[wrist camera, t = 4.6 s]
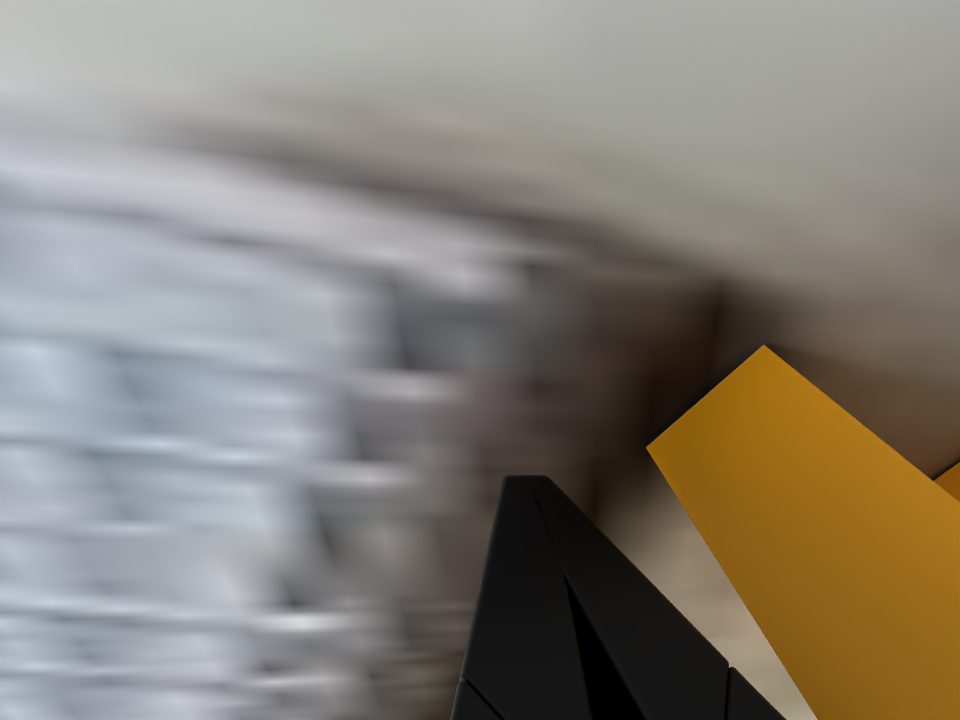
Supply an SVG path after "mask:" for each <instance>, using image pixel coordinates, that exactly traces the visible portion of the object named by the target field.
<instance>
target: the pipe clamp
mask: <svg viewBox="0 0 960 720" xmlns="http://www.w3.org/2000/svg"><path fill="white" fill-rule="evenodd" d="M646 449H647V450H648V452H649V453H650V455H651V456H652V458H653V460H654V461H655V463H656V464H657V466H658V467H659V469H660V471H661V472H662V474H663V475H664V477H665V479H666V480H667V482H668V483H669V485H670V486H671V488H672V490H673V491H674V493H675V494H676V496H677V498H678V499H679V501H680V502H681V504H682V505H683V507H684V509H685V510H686V512H687V513H688V515H689V517H690V518H691V520H692V521H693V523H694V524H695V526H696V528H697V529H698V531H699V532H700V534H701V536H702V537H703V539H704V540H705V542H706V543H707V545H708V547H709V548H710V550H711V551H712V553H713V555H714V556H715V558H716V559H717V561H718V562H719V564H720V566H721V567H722V569H723V570H724V572H725V574H726V575H727V577H728V578H729V580H730V581H731V583H732V585H733V586H734V588H735V589H736V591H737V593H738V594H739V596H740V597H741V599H742V600H743V602H744V604H745V605H746V607H747V608H748V610H749V612H750V613H751V615H752V616H753V618H754V619H755V621H756V623H757V624H758V626H759V627H760V629H761V631H762V632H763V634H764V635H765V637H766V638H767V640H768V642H769V643H770V645H771V646H772V648H773V650H774V651H775V653H776V654H777V656H778V657H779V659H780V661H781V662H782V664H783V665H784V667H785V669H786V670H787V672H788V673H789V675H790V676H791V678H792V680H793V681H794V683H795V684H796V686H797V688H798V689H799V691H800V692H801V694H802V695H803V697H804V699H805V700H806V702H807V703H808V705H809V707H810V708H811V710H812V711H813V713H814V714H815V716H816V718H817V719H818V720H960V462H959V463H958V464H956V465H955V466H953V467H952V468H951V469H949V470H948V471H947V472H945V473H944V474H942V475H941V476H940V477H938V478H937V479H935V480H934V481H932V480H931V479H930V478H929V477H927V476H926V475H925V474H924V473H922V472H921V471H920V470H919V469H917V468H916V467H915V466H914V465H913V464H911V463H910V462H909V461H908V460H906V459H905V458H904V457H903V456H901V455H900V454H899V453H898V452H896V451H895V450H894V449H893V448H891V447H890V446H889V445H888V444H886V443H885V442H884V441H883V440H881V439H880V438H879V437H878V436H877V435H875V434H874V433H873V432H872V431H870V430H869V429H868V428H867V427H865V426H864V425H863V424H862V423H860V422H859V421H858V420H857V419H855V418H854V417H853V416H852V415H850V414H849V413H848V412H847V411H846V410H844V409H843V408H842V407H841V406H839V405H838V404H837V403H836V402H834V401H833V400H832V399H831V398H829V397H828V396H827V395H826V394H824V393H823V392H822V391H821V390H819V389H818V388H817V387H816V386H815V385H813V384H812V383H811V382H810V381H808V380H807V379H806V378H805V377H803V376H802V375H801V374H800V373H798V372H797V371H796V370H795V369H793V368H792V367H791V366H790V365H788V364H787V363H786V362H785V361H784V360H782V359H781V358H780V357H779V356H777V355H776V354H775V353H774V352H772V351H771V350H770V349H769V348H767V347H766V346H765V345H763V346H761V347H760V348H759V349H758V350H757V351H756V352H755V353H753V354H752V355H751V356H750V357H749V358H748V359H747V360H745V361H744V362H743V363H742V364H741V365H740V366H739V367H737V368H736V369H735V370H734V371H733V372H732V373H731V374H729V375H728V376H727V377H726V378H725V379H724V380H723V381H721V382H720V383H719V384H718V385H717V386H716V387H715V388H713V389H712V390H711V391H710V392H709V393H708V394H706V395H705V396H704V397H703V398H702V399H701V400H700V401H698V402H697V403H696V404H695V405H694V406H693V407H692V408H690V409H689V410H688V411H687V412H686V413H685V414H684V415H682V416H681V417H680V418H679V419H678V420H677V421H676V422H674V423H673V424H672V425H671V426H670V427H669V428H668V429H666V430H665V431H664V432H663V433H662V434H661V435H660V436H658V437H657V438H656V439H655V440H654V441H653V442H652V443H650V444H649V445H648V446H647V447H646Z"/></svg>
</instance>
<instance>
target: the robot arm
mask: <svg viewBox="0 0 960 720" xmlns="http://www.w3.org/2000/svg"><path fill="white" fill-rule="evenodd" d="M450 720H786V719H785V718H784V717H783V716H782V715H781V714H780V713H779V712H778V711H777V710H776V709H775V708H774V707H773V706H772V705H771V704H770V703H769V702H768V701H767V700H766V699H765V698H764V697H763V696H762V695H761V694H760V693H759V692H758V691H757V690H756V689H755V688H754V687H753V686H752V685H751V684H750V683H749V682H748V681H747V680H746V679H745V678H744V677H743V676H742V675H741V674H740V673H739V672H738V671H737V670H736V669H735V668H734V667H730V668H729V663H728V661H727V660H726V659H725V658H724V657H723V656H722V655H721V654H720V652H719V651H718V650H717V649H716V648H715V647H714V646H713V645H712V644H711V643H710V642H709V641H708V640H707V639H706V638H705V637H704V636H703V635H702V634H701V633H700V632H699V631H698V630H697V629H696V628H695V627H694V626H693V625H692V624H691V623H690V622H689V621H688V620H687V619H686V618H685V617H684V616H683V614H682V613H681V612H680V611H679V610H678V609H677V608H676V607H675V606H674V605H673V604H672V603H671V602H670V601H669V600H668V599H667V598H666V597H665V596H664V595H663V594H662V593H661V592H660V591H659V590H658V589H657V588H656V587H655V586H654V585H653V584H652V583H651V582H650V581H649V580H648V579H647V578H646V577H645V575H644V574H643V573H642V572H641V571H640V570H639V569H638V568H637V567H636V566H635V565H634V564H633V563H632V562H631V561H630V560H629V559H628V558H627V557H626V556H625V555H624V554H623V553H622V552H621V551H620V550H619V549H618V548H617V547H616V546H615V545H614V544H613V543H612V542H611V541H610V540H609V539H608V538H607V536H606V535H605V534H604V533H603V532H602V531H601V530H600V529H599V528H598V527H597V526H596V525H595V524H594V523H593V522H592V521H591V520H590V519H589V518H588V517H587V516H586V515H585V514H584V513H583V512H582V511H581V510H580V509H579V508H578V507H577V506H576V505H575V504H574V503H573V502H572V501H571V500H570V498H569V497H568V496H567V495H566V494H565V493H564V492H563V491H562V490H561V489H560V488H559V487H558V486H557V485H556V484H555V483H554V482H553V481H552V480H551V479H550V478H549V477H547V476H544V475H506V476H504V477H503V480H502V484H501V489H500V494H499V498H498V503H497V507H496V512H495V517H494V521H493V526H492V531H491V535H490V540H489V544H488V549H487V554H486V558H485V563H484V567H483V572H482V577H481V581H480V586H479V590H478V595H477V600H476V604H475V609H474V614H473V618H472V623H471V627H470V632H469V637H468V641H467V646H466V650H465V655H464V660H463V664H462V669H461V673H460V679H459V683H458V686H457V690H456V695H455V700H454V704H453V709H452V713H451V717H450Z"/></svg>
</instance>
